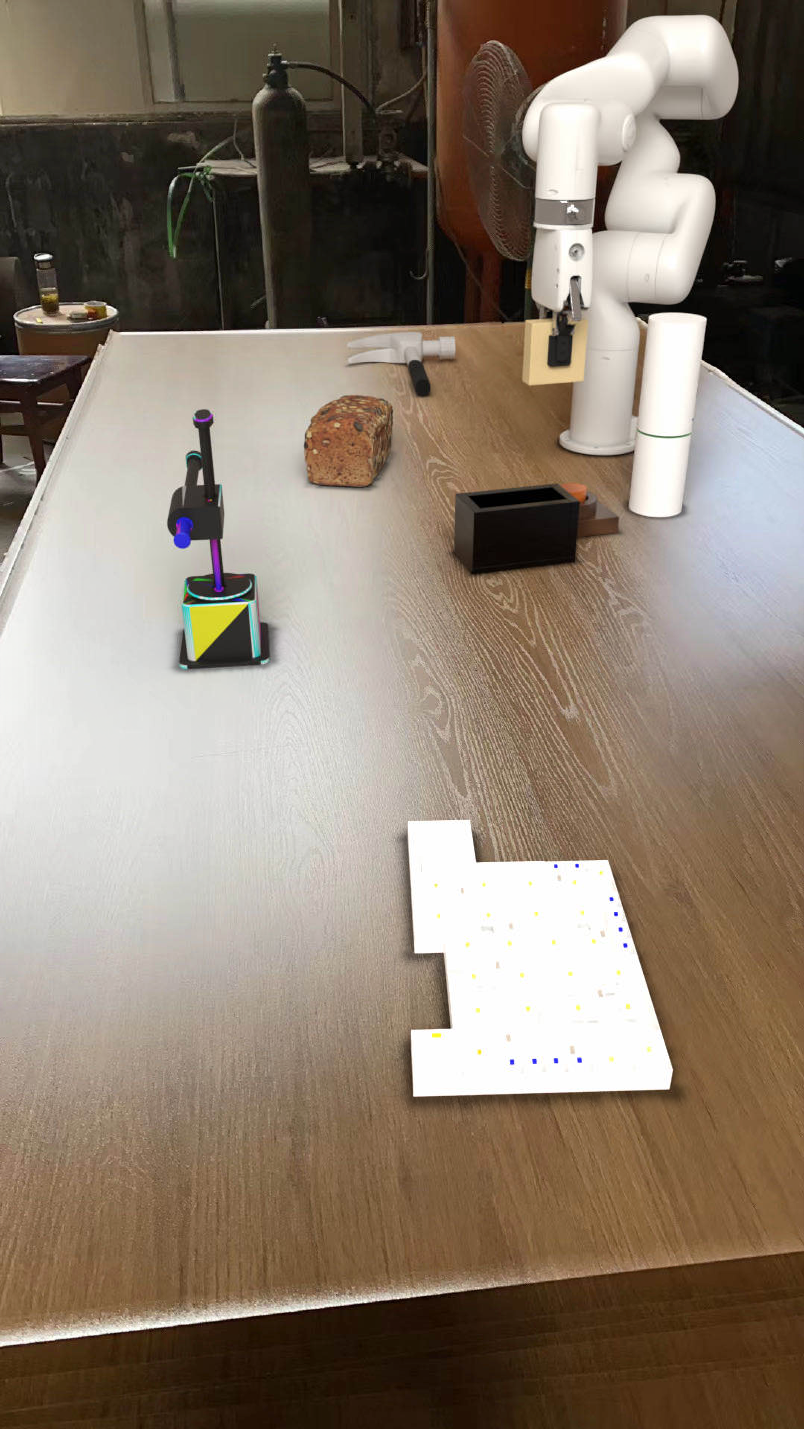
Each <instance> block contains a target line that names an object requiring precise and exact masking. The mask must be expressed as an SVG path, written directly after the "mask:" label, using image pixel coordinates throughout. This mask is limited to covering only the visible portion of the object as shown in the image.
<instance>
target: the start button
mask: <svg viewBox="0 0 804 1429" xmlns="http://www.w3.org/2000/svg"><path fill="white" fill-rule="evenodd" d="M559 485H560V486H561V487H563V488H564V489H565V490H566V491H568V492H569V493H570V494H571V495H573V496H574V497H575V498H576V499H578V500H579V501H580V502H584V501H586V493H587V492H588V487H587V486H586V485H585V484H581V483H578V482H567V483H562V484H559Z"/></svg>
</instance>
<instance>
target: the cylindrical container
mask: <svg viewBox="0 0 804 1429" xmlns="http://www.w3.org/2000/svg"><path fill="white" fill-rule="evenodd" d="M707 320H708V319H707V317H705V316H703V315H701V314H694V313H688V312H686V313H685V312H660V313H659V312H658V313H653V314H651V315H649V316H648V320H647V322H648V323H647V330H646V340H645V348H644V349H645V350H644V357H643V366H642V367H643V368H642V377H641V378H642V379H641V385H640V394H639V396H640V397H639V405H638V416H637V417H638V423H637V432H636V442H635V450H634V454H633V461H632V472H631V482H630V491H629V499H628V500H629V501H628V509H629V510H630V511H631V512H633V513H635V514H637V515H641V516H644V517H645V516H646V517H652V518H669V517H673V516H677V515H679V514H680V513H681V512H682V509H683V501H684V495H685V486H686V478H687V470H688V464H689V457H690V448H691V441H692V433H693V428H694V427H693V426H694V419H695V411H696V404H697V396H698V389H699V388H698V387H699V380H700V373H701V372H700V371H701V365H702V356H703V350H704V342H705V335H706V334H705V333H706V326H707Z"/></svg>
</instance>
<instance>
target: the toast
mask: <svg viewBox="0 0 804 1429" xmlns="http://www.w3.org/2000/svg"><path fill="white" fill-rule="evenodd" d="M561 318H562V317H561ZM561 318H560V320H561ZM587 329H588V320H587V319H584V318H581V321H580V322H578V323H577V324H576V325H575V332H574V335H573V341H572V355H571V364H570V365H569V366H557V367H550V366H548V364H547V360H548V344H549V335H552V319H539V318H538V319H526V320H525V321H524V337H523V338H524V339H523V340H524V341H523V361H522V379H521V380H522V382H523V383H524V384H526V385H527V386H541V385H554V384H563V383H564V384H566V383H567V384H568V383H573V382H580V381H583V380H584V367H585V354H586V342H587Z"/></svg>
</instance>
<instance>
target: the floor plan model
mask: <svg viewBox="0 0 804 1429" xmlns="http://www.w3.org/2000/svg"><path fill="white" fill-rule="evenodd" d="M472 832H473V831H472V826H471V820H470V819H452V820H451V819H450V820H449V819H448V820H408V821H407V849H408V866H409V881H410V884H409V885H410V900H411V915H412V932H413V933H412V934H413V949H414V950H413V952H414V954H436V953H437V954H438V953H441V954H443V959H444V960H443V961H444V969H445V971H444V972H445V979H446V980H445V981H446V990H447V1002H448V1012H449V1014H448V1015H449V1022H450V1024H449V1025H450V1028H437V1029H436V1028H435V1029H411V1030H410V1051H411V1052H410V1054H411V1055H410V1056H411V1074H412V1094H413V1097H439V1096H440V1097H442V1096H445V1097H446V1096H477V1095H478V1096H479V1095H480V1096H482V1095H515V1094H516V1095H518V1094H519V1095H520V1094H547V1093H548V1094H550V1093H551V1094H554V1093H583V1092H584V1093H585V1092H586V1093H587V1092H588V1093H589V1092H619V1091H621V1092H622V1091H623V1092H624V1091H656V1090H660V1091H661V1090H670V1088H671V1082H672V1077H673V1071H674V1068H673V1066H672V1062H671V1059H670V1056H669V1053H668V1049H667V1046H666V1043H665V1040H664V1037H663V1034H662V1030H661V1027H660V1023H659V1020H658V1017H657V1014H656V1012H655V1008H654V1005H653V1001H652V998H651V995H650V991H649V988H648V985H647V982H646V978H645V975H644V973H643V972H644V971H643V969H642V966H641V965H642V964H641V963H640V959H639V955H638V953H637V949H636V946H635V944H634V940H633V937H632V933H631V930H630V927H629V924H628V920H627V917H626V913H625V910H624V908H623V904H622V901H621V898H620V894H619V892H618V888H617V885H616V882H615V878H614V875H613V871H612V868H611V864H610V863H609V860H608V859H604V860H602V859H601V860H600V859H599V860H559V861H545V860H533V861H532V860H529V861H527V860H525V861H497V862H496V861H488V862H486V861H485V862H477V860H476V854H475V847H474V840H473V833H472Z"/></svg>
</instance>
